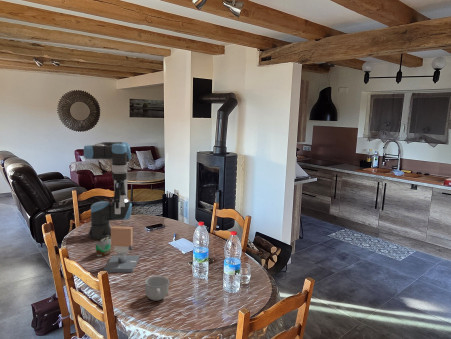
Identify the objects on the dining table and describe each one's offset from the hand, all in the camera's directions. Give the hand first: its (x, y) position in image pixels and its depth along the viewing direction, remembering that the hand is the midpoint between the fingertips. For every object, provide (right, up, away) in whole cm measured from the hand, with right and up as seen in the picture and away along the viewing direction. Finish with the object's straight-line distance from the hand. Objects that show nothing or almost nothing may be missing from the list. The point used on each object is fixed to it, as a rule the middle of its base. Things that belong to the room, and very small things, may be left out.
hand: (119, 210), depth 175 cm
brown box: (+1, -22, +1) cm, 22 cm away
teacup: (+27, -37, -30) cm, 54 cm away
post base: (+1, -31, +2) cm, 31 cm away
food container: (-13, -29, +15) cm, 35 cm away
